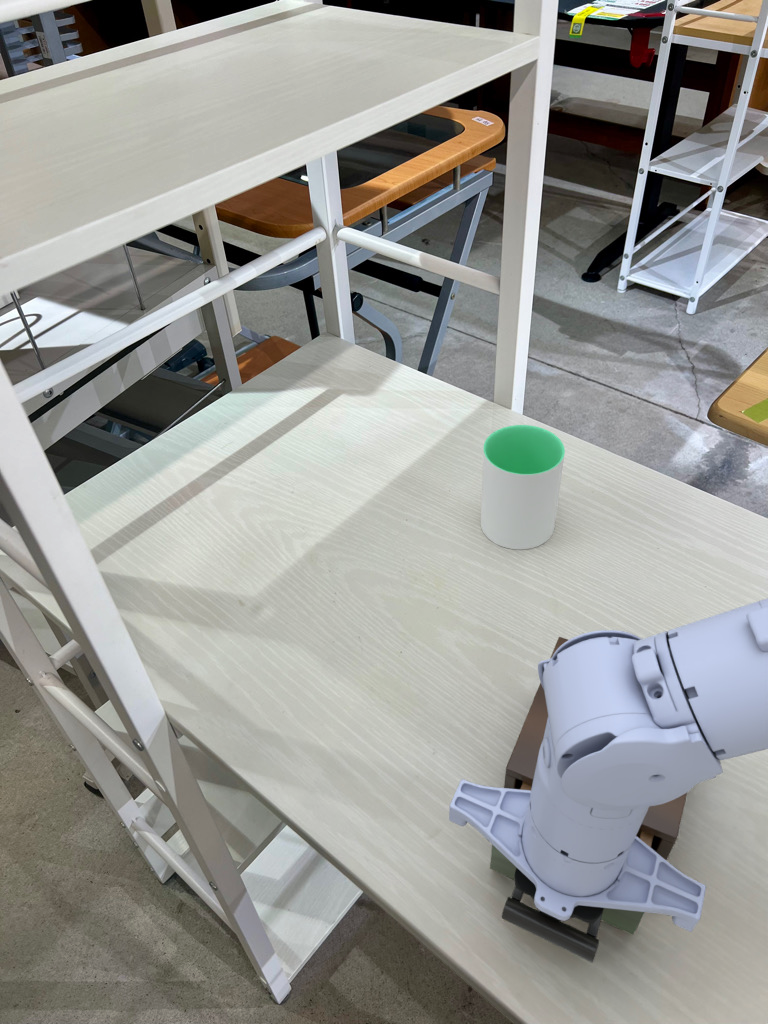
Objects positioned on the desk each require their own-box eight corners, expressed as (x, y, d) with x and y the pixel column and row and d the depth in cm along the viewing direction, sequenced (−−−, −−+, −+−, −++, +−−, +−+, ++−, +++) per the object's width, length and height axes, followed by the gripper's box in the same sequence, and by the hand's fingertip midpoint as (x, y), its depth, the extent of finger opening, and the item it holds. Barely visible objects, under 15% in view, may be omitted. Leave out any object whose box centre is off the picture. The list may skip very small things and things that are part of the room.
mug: (482, 475, 88) (485, 402, 81) (551, 477, 87) (560, 403, 80) (479, 547, 80) (482, 473, 73) (556, 551, 79) (566, 476, 72)
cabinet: (652, 890, 54) (677, 839, 48) (499, 822, 58) (505, 768, 52) (685, 745, 62) (710, 686, 56) (549, 695, 66) (558, 635, 60)
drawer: (618, 1000, 48) (636, 967, 44) (468, 924, 52) (470, 887, 47) (667, 789, 58) (686, 744, 54) (538, 739, 62) (546, 693, 57)
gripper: (429, 817, 40) (427, 910, 49) (713, 949, 35) (651, 1025, 44) (477, 712, 44) (467, 815, 54) (734, 816, 39) (675, 910, 49)
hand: (552, 903), depth 49 cm, fingers closed, pressing on drawer
